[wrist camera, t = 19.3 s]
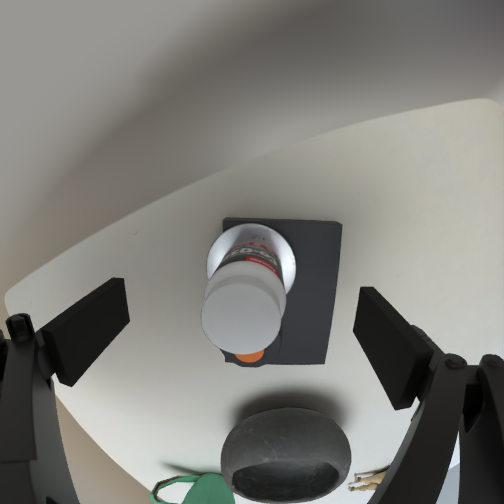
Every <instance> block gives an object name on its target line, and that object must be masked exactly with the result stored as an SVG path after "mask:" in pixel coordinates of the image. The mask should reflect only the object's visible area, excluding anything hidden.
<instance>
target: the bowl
mask: <svg viewBox="0 0 504 504" xmlns="http://www.w3.org/2000/svg"><path fill="white" fill-rule="evenodd" d="M350 465H351V449H350V445H349V442H348V439H347V437H346V435H345V433H344V432H343V430H342V429H341V428H340V427H339V425H338V424H336V423H335V422H334V421H333V420H332V419H331V418H329V417H327V416H326V415H324V414H322V413H320V412H317V411H314V410H309V409H304V408H293V407H291V408H279V409H274V410H268V411H264V412H261V413H258V414H255V415H252V416H250V417H248V418H246V419H245V420H243V421H242V422H240V423H239V424H238V425H236V426H235V427H234V428H233V429H232V431H231V432H230V433H229V435H228V436H227V438H226V440H225V442H224V445H223V448H222V452H221V471H222V475H223V478H224V480H225V482H226V484H227V486H228V487H229V488H230V489H231V491H232V492H234V493H236V494H238V495H240V496H241V497H243V498H246V499H249V500H252V501H256V502H261V503H270V504H289V503H301V502H308V501H313V500H316V499H319V498H321V497H324V496H326V495H328V494H329V493H331V492H332V491H333V490H335V489H336V488H337V487H339V486H340V485H341V484H342V483H343V482H344V481H345V479H346V477H347V475H348V472H349V469H350Z"/></svg>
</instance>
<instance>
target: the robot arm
mask: <svg viewBox="0 0 504 504" xmlns="http://www.w3.org/2000/svg"><path fill="white" fill-rule="evenodd" d="M129 322H130V317H129V312H128V305H127V299H126V292H125V284H124V278H114V277H113V278H111V279H110V280H108V281H107V282H105V283H104V284H102V285H101V286H99V287H98V288H96V289H95V290H94V291H92V292H91V293H89V294H88V295H86V296H85V297H83V298H82V299H81V300H79V301H78V302H76V303H75V304H73V305H72V306H71V307H69V308H68V309H66V310H65V311H64V312H62V313H61V314H59V315H58V316H57V317H55V318H54V319H53V320H51V321H50V322H48V323H47V324H46V325H44V326H43V327H42V328H40V329H39V330H38V331H36V332H34V328H33V325H32V322H31V318H30V315H28V314H26V313H19V314H15V315H13V316H11V317H9V318H8V319H7V320H6V325H7V328H8V331H9V334H10V337H11V340H10V339H5V338H4V335H3V332H2V330H1V329H0V504H80V503H79V500H78V497H77V494H76V491H75V489H74V485H73V482H72V479H71V475H70V472H69V468H68V464H67V461H66V456H65V453H64V448H63V444H62V438H61V434H60V428H59V422H58V416H57V408H56V400H55V391H54V382H53V380H52V378H51V376H52V375H53V374H54V373H56V375H57V378H58V380H59V382H60V383H62V384H64V385H67V386H70V387H73V385H74V384H75V383H76V382H77V381H78V380H79V378H80V377H81V376H82V375H83V374H84V373H85V371H86V370H87V369H88V368H89V367H90V366H91V364H92V363H93V362H94V361H95V360H96V359H97V358H98V356H99V355H100V354H101V353H102V352H103V351H104V350H105V349H106V347H107V346H108V345H109V344H110V343H111V342H112V341H113V340H114V338H115V337H116V336H117V335H118V334H119V333H120V332H121V331H122V330H123V329H124V327H125V326H126V325H127V324H128V323H129ZM353 333H354V334H355V336H356V338H357V340H358V342H359V343H360V345H361V347H362V349H363V351H364V352H365V354H366V356H367V358H368V360H369V362H370V363H371V365H372V367H373V369H374V371H375V373H376V375H377V377H378V378H379V380H380V382H381V384H382V386H383V388H384V390H385V392H386V394H387V396H388V398H389V400H390V402H391V404H392V406H393V408H394V410H400V409H405V408H410V407H411V406H412V404H413V402H414V400H415V397H416V396H417V398H418V400H419V401H420V403H419V405H418V407H417V409H416V411H415V413H414V415H413V417H412V419H411V424H410V426H409V429H408V431H407V433H406V435H405V438H404V440H403V442H402V444H401V446H400V448H399V450H398V452H397V454H396V456H395V458H394V460H393V462H392V463H391V465H390V467H389V469H388V471H387V473H386V474H385V476H384V478H383V479H382V481H381V483H380V484H379V486H378V488H377V489H376V491H375V493H374V494H373V496H372V497H371V499H370V500H369V502H368V503H367V504H436V502H437V499H438V497H439V494H440V491H441V489H442V486H443V483H444V480H445V477H446V474H447V471H448V468H449V465H450V462H451V458H452V455H453V451H454V447H455V443H456V439H457V435H458V431H459V444H460V482H459V498H458V504H504V360H503V359H502V358H500V357H499V356H497V355H492V354H486V355H484V356H483V357H482V359H481V361H480V363H479V365H467V362H466V361H465V359H463V358H462V357H461V356H458V355H456V354H450V353H448V354H445V353H444V352H443V351H442V350H441V349H440V348H439V347H438V346H437V345H436V344H435V343H434V342H433V341H432V340H431V339H430V337H429V336H428V337H427V334H426V333H425V332H424V331H423V330H422V329H420V328H418V327H416V326H415V325H410V324H409V323H408V322H407V321H406V320H405V319H404V318H403V317H402V316H401V315H400V314H399V313H398V311H397V310H396V309H395V308H394V307H393V306H392V305H391V304H390V303H389V302H388V301H387V300H386V299H385V298H384V297H383V296H382V295H381V294H380V293H379V292H378V291H377V290H376V289H375V288H374V287H360V293H359V300H358V306H357V311H356V317H355V322H354V328H353Z"/></svg>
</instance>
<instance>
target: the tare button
mask: <svg viewBox="0 0 504 504" xmlns="http://www.w3.org/2000/svg"><path fill="white" fill-rule="evenodd" d="M263 354H264V349H263V350H261V351H258V352H256V353H252V354H235V356H236V357H237V358H238V359H239V360H241V361H244V362H255V361H257V360H259V359H260V358H261V357H262V356H263Z"/></svg>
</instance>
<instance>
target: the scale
mask: <svg viewBox="0 0 504 504" xmlns="http://www.w3.org/2000/svg"><path fill="white" fill-rule="evenodd" d="M248 223H254V224H261V225H264V226H267V227H270V228H272V229H274V230H275V231H277V232H278V233H279V234H281V235H282V236H283V237H284V238H285V239H286V240H287V242H288V243H289V245H290V247H291V248H292V251H293V253H294V256H295V261H296V275H295V279H294V282H293V285H292V287H291V289H290V290H289V292H288V293H287V294H286V306H285V311H284V314H283V316H282V318H281V326H280V330H279V332H278V335H277V336H276V338H275V339H274V341H273V342H272V343H271V344H270V345H269V346H267V347H266V348H264V354H263V356H262V357H261V358H260V359H259V360H257V361H255V362H244V361H241V360H239V359H238V358H237V357H236V356H235V354H234V353H230V352H227V351H224V350H222V349H220V348H219V349H220V350H221V351H222V353H223V354H224V356H225V362H231V363H235V364H237V365H239V366H242V367H260V366H262V365H265V364H276V365H312V364H325V358H326V353H327V347H328V341H329V335H330V329H331V323H332V316H333V309H334V302H335V294H336V286H337V278H338V269H339V259H340V248H341V236H342V224H340V223H338V222H335V221H315V220H291V219H260V218H225V219H224V220H223V233H224V232H225V231H226V230H228V229H230V228H232V227H234V226H237V225H241V224H248Z"/></svg>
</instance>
